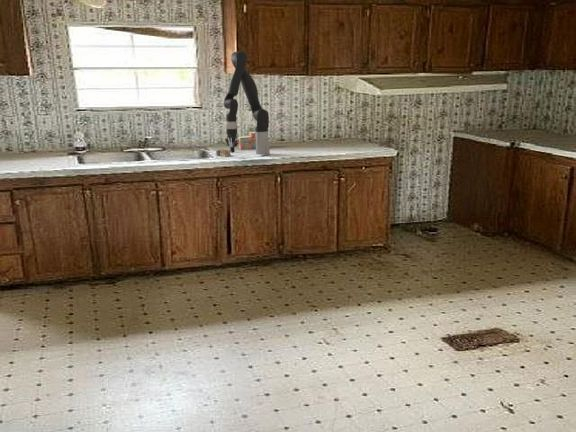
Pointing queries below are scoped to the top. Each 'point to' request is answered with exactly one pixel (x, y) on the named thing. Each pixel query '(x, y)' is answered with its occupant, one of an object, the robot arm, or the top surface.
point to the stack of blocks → (247, 141)
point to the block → (225, 153)
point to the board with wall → (218, 152)
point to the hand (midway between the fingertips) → (232, 152)
